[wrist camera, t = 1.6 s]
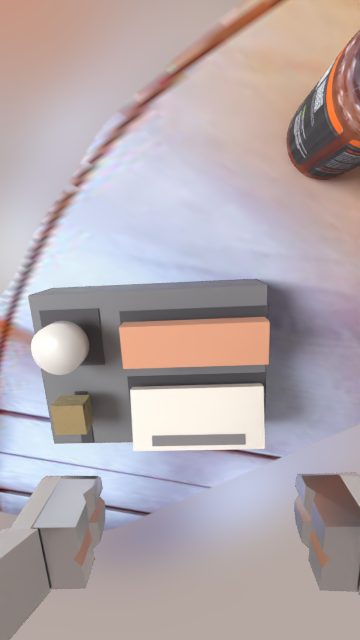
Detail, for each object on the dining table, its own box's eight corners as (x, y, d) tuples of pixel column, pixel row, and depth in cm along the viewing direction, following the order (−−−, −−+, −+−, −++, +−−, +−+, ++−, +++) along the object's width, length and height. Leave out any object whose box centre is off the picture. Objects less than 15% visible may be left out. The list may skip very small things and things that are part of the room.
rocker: (260, 381, 23) (263, 386, 22) (261, 441, 24) (265, 449, 22) (133, 385, 24) (129, 390, 22) (136, 443, 24) (133, 451, 23)
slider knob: (93, 389, 24) (82, 405, 22) (97, 415, 25) (86, 434, 22) (64, 390, 24) (50, 406, 22) (68, 416, 25) (55, 435, 22)
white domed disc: (86, 319, 21) (78, 324, 20) (92, 366, 22) (85, 374, 21) (37, 321, 22) (26, 326, 20) (45, 367, 22) (35, 375, 21)
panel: (257, 278, 26) (268, 285, 22) (255, 413, 29) (265, 440, 25) (52, 288, 27) (27, 295, 23) (72, 417, 30) (53, 444, 26)
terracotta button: (264, 316, 21) (269, 321, 19) (263, 356, 22) (268, 364, 20) (123, 322, 21) (118, 327, 20) (127, 361, 22) (123, 368, 21)
